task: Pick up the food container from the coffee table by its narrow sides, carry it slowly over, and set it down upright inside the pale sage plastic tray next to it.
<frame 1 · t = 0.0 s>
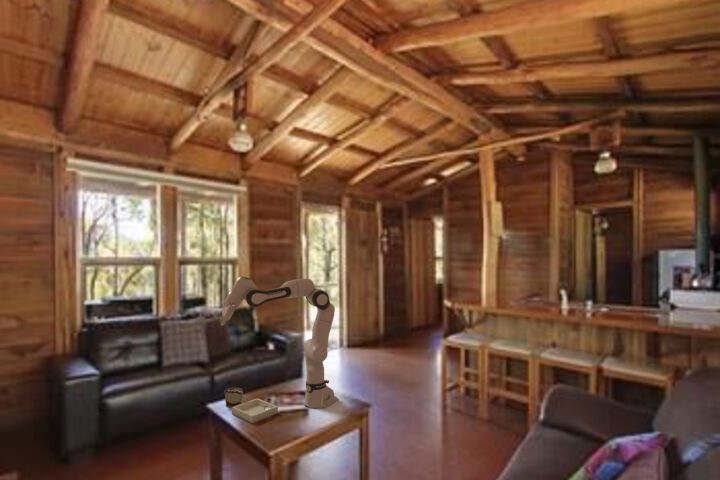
hand: (221, 323, 237), 54 cm above the table, tool tilted 30°, fingers open, 8 cm apart
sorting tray: (254, 413, 243), on the table
food container: (235, 405, 256), on the table
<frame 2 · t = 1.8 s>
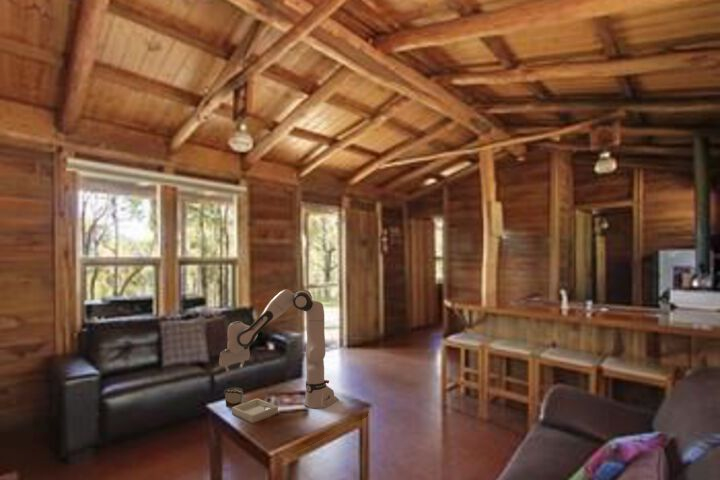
hand: (234, 370, 256), 22 cm above the table, tool pointing down, fingers open, 8 cm apart
nothing on the table moved.
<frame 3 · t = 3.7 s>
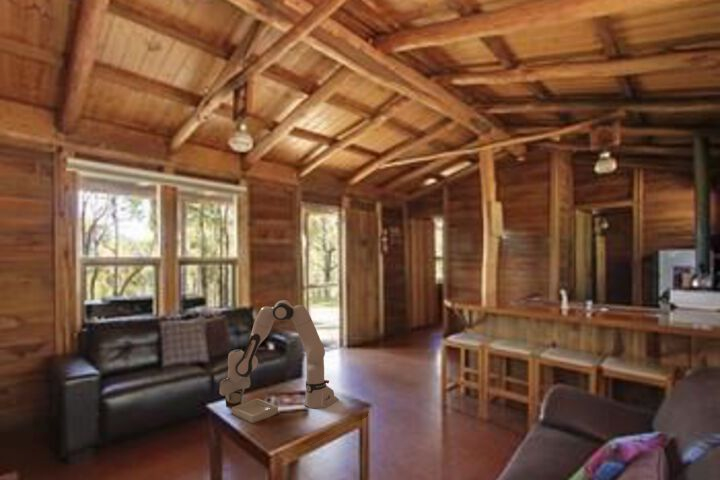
hand: (235, 398, 256), 4 cm above the table, tool pointing down, fingers open, 7 cm apart
food container: (235, 405, 256), on the table, touching gripper
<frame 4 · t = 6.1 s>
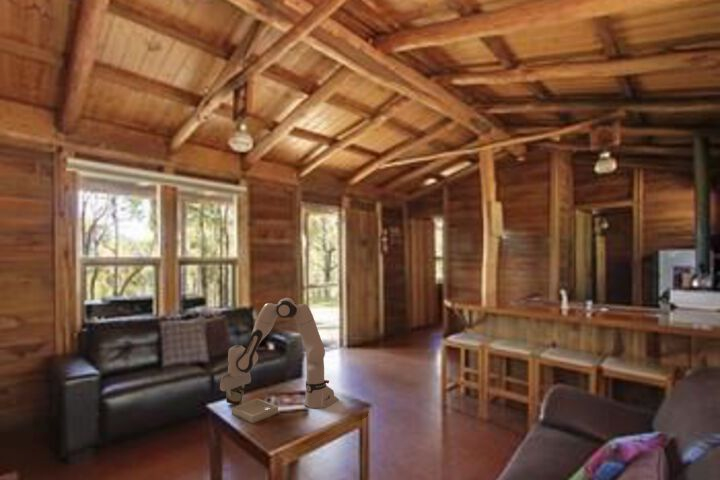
hand: (235, 394, 256), 7 cm above the table, tool pointing down, fingers closed on food container, 6 cm apart
food container: (235, 402, 258), point 1 cm above the table, touching gripper
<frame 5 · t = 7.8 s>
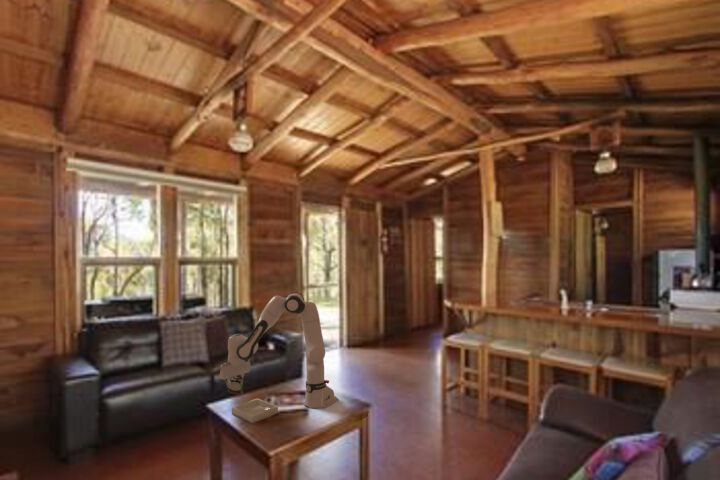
hand: (235, 382, 256), 14 cm above the table, tool pointing down, fingers closed on food container, 6 cm apart
food container: (238, 390, 259), point 8 cm above the table, touching gripper
when the fingers open (8 cm above the table, at t = 15.0 s): food container moves 2 cm, resting on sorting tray.
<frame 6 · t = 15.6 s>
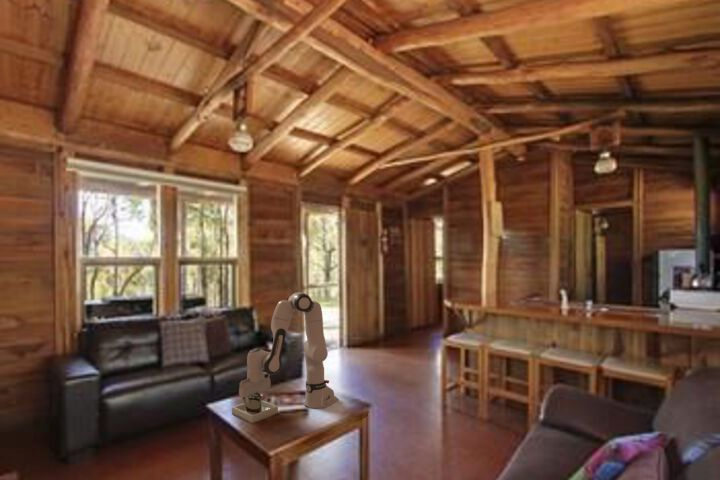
hand: (255, 400, 244), 8 cm above the table, tool pointing down, fingers open, 8 cm apart
food container: (256, 409, 245), point 2 cm above the table, touching gripper, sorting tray
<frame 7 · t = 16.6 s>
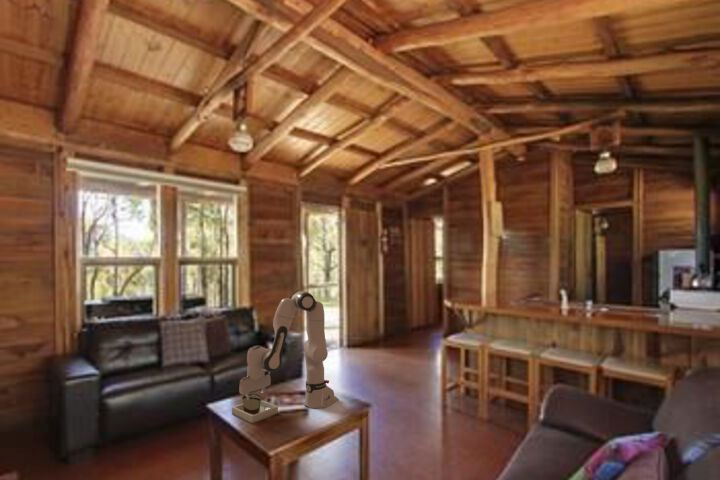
hand: (255, 397, 244), 10 cm above the table, tool pointing down, fingers open, 8 cm apart
food container: (253, 412, 243), point 1 cm above the table, touching gripper, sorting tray
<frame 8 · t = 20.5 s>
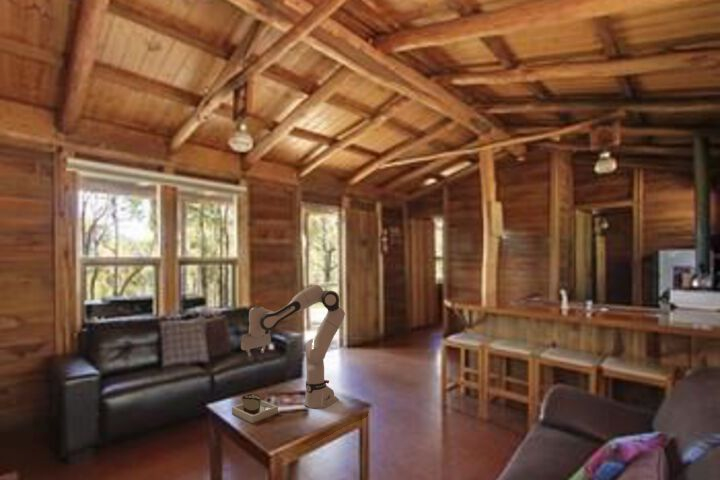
hand: (256, 354, 257), 31 cm above the table, tool pointing down, fingers open, 8 cm apart
food container: (253, 412, 243), point 1 cm above the table, touching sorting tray
at the end: food container inside the target area on the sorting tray (0.7 cm from its centre), point 0.8 cm above the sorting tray's base; food container tilted 0°; the gripper is holding nothing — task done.
